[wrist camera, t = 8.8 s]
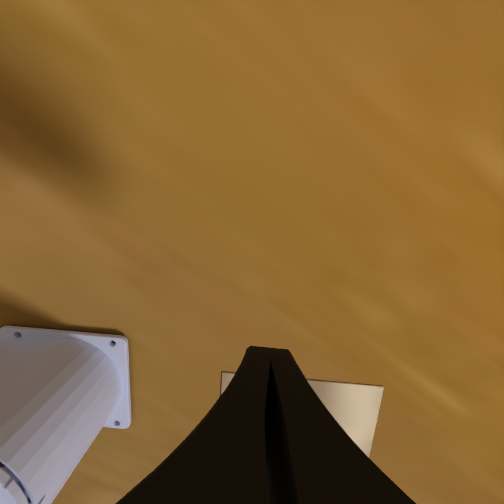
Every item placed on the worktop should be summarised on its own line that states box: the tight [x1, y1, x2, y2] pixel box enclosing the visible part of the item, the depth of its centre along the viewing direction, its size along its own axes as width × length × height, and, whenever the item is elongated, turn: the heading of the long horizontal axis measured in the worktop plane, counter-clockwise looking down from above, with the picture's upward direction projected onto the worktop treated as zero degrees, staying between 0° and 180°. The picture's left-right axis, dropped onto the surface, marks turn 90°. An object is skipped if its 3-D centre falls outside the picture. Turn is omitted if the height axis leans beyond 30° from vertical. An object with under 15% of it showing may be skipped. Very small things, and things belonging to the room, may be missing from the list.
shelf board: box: [221, 372, 384, 458], centre depth 22 cm, size 12×11×1 cm
